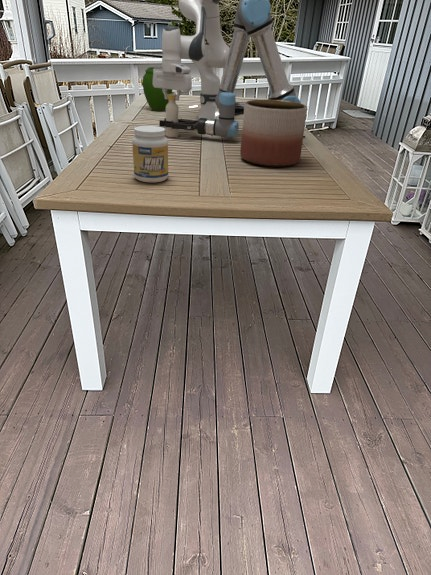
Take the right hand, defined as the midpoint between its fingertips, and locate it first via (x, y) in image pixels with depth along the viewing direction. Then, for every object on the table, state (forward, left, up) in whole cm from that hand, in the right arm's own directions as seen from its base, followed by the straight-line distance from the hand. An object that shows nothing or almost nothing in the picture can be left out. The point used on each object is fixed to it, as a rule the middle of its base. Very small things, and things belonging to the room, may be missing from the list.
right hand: (162, 122), depth 204 cm
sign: (-63, -80, -6) cm, 102 cm away
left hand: (-5, +2, +11) cm, 12 cm away
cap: (-5, +2, +13) cm, 14 cm away
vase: (-2, -73, -6) cm, 73 cm away
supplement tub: (+9, +72, -6) cm, 72 cm away
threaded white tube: (-5, +2, -6) cm, 8 cm away
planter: (-42, +48, -6) cm, 64 cm away
